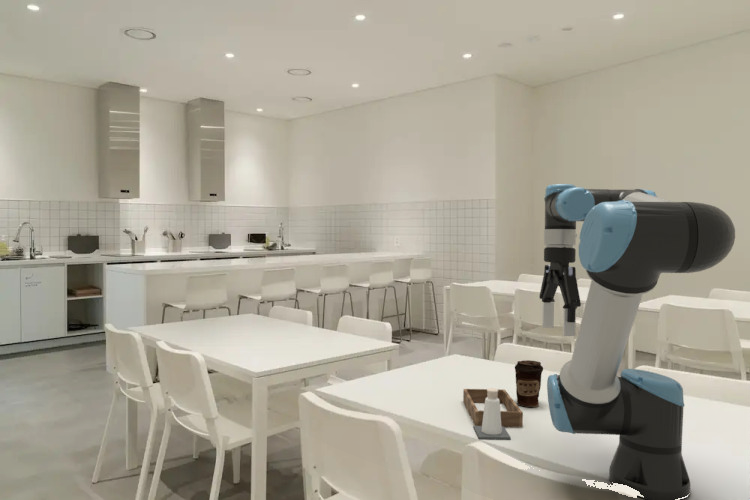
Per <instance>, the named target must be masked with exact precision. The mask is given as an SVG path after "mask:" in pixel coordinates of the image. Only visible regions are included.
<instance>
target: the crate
mask: <svg viewBox="0 0 750 500" xmlns="http://www.w3.org/2000/svg"><path fill="white" fill-rule="evenodd" d="M487 389H488V388H485V389H484V388H463V392H462V393H463V396H462V397H463V399H462V400H463V401H462V402H463V405H465V408H466V410H467V412H468V415H469V416H471V417H470V418H472V419H471V420H473V421H472V422H473V426H482V422H483V414H484V410H478V408H477V406H476V404H485V399H486V398H487V396H488V395H487V393H488V392H487ZM496 389H497V388H496ZM497 390H498V396H497V397H498V399H499V401H500V404H502V405H503V406H504V408H505V409H506V410H500V413H501V426H504V428H523V427H524V426H523V421H524V419H523V418H524V417H523V416H524V412H523V410H522V409H521V408H520V406H519V405H518V404H517V402H515V401H514V399H513V398H512V397H511V395H510V394H509V393H508V391H506V389H497Z"/></svg>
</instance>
